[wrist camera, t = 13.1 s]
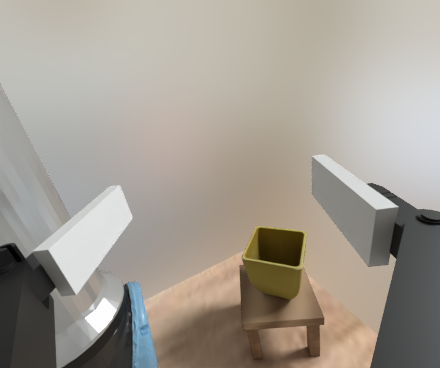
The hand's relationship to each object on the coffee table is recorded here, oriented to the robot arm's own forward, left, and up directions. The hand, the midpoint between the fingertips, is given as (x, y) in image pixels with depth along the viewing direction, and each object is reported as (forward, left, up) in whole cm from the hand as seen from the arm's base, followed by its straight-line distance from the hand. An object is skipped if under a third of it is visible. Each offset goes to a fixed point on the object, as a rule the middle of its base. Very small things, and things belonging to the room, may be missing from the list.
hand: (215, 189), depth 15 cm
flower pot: (+5, +15, -27) cm, 31 cm away
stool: (+4, +15, -36) cm, 39 cm away
